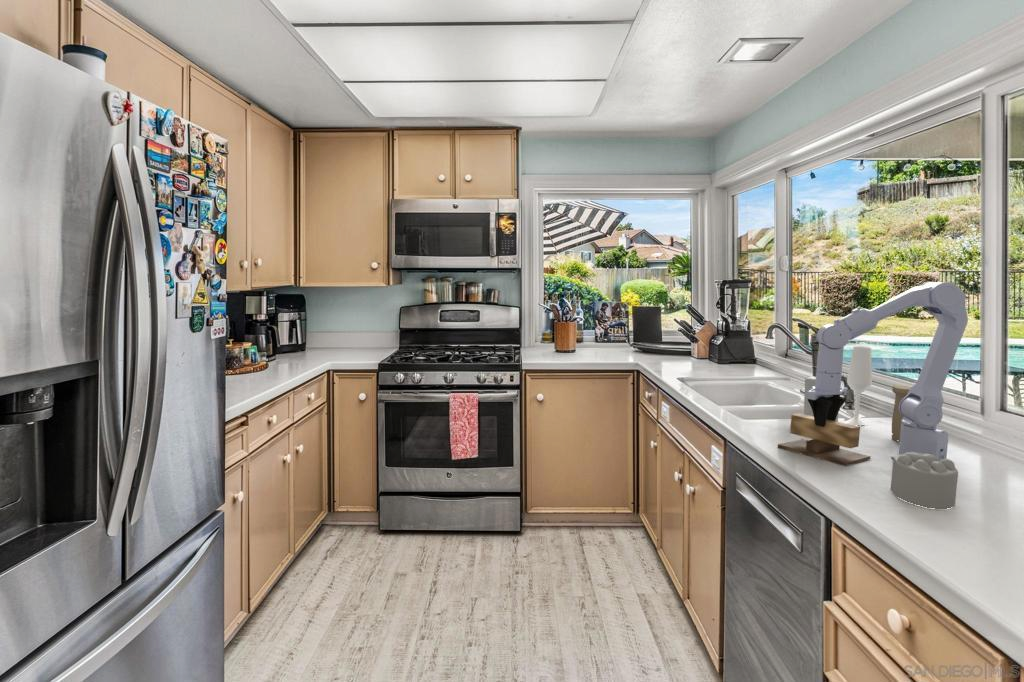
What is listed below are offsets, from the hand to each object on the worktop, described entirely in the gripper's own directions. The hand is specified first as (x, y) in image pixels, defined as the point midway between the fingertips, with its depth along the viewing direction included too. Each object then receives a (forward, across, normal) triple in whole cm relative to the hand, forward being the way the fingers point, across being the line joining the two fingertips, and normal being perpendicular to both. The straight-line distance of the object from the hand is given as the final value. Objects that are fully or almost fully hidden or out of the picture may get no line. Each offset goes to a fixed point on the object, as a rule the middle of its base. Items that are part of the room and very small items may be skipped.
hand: (824, 425), depth 156 cm
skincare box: (+8, -27, -17) cm, 33 cm away
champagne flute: (+8, -41, -14) cm, 44 cm away
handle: (+8, -32, +3) cm, 33 cm away
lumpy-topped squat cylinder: (+8, +13, +29) cm, 33 cm away
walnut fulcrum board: (+7, 0, 0) cm, 7 cm away
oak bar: (+4, 0, 0) cm, 4 cm away
